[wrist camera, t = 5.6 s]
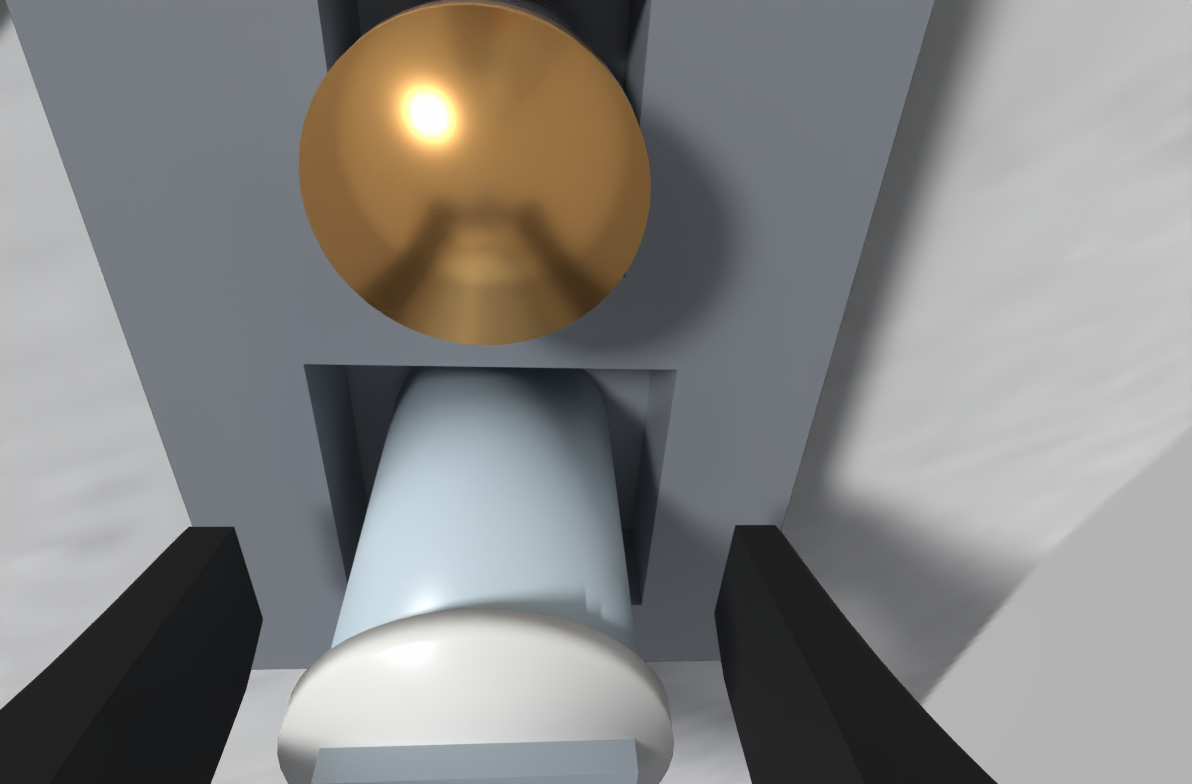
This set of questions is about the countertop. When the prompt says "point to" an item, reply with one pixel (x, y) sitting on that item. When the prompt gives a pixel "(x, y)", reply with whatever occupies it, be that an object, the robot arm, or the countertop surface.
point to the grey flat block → (392, 351)
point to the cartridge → (485, 602)
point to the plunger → (476, 170)
